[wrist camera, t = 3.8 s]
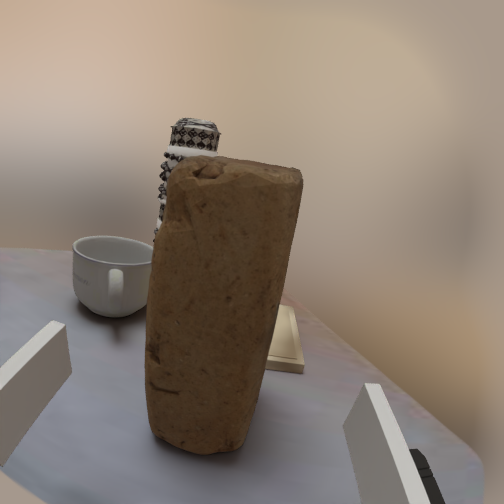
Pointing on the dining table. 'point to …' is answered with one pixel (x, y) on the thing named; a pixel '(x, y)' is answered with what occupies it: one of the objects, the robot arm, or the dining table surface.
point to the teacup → (111, 274)
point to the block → (216, 297)
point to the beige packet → (285, 344)
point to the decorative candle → (186, 150)
